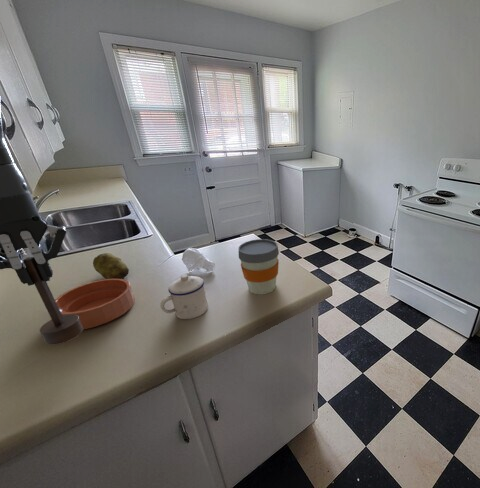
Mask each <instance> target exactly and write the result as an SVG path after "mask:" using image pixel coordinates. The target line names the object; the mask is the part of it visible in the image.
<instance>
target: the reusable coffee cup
mask: <svg viewBox="0 0 480 488" xmlns="http://www.w3.org/2000/svg"><path fill="white" fill-rule="evenodd" d="M279 254H280V251H279V247H278V243H277V242H276V241H275V240H272V239H267V238H265V239H264V238H259V239H258V238H257V239H252V240H251V239H250V240H248V241H245V242H243V243H241V244H240V245H239V246H238V259H239V260H240V269H241V272H242V275H243V278H244V279H245V280H246V283H247V287H248V290H249V292H250V293H251V294H253V295H265V294H269V293H271V292H273V291H274V290H275V289H276V288H277V276H278V275H279V264H280V263H279V261H280V260H279V258H278V256H279Z"/></svg>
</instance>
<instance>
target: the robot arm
mask: <svg viewBox="0 0 480 488" xmlns="http://www.w3.org/2000/svg"><path fill="white" fill-rule="evenodd" d="M1 98H2V97H0V250H2V251H4V253H5V256H6V258H5V257H3V256H1V255H0V270H4V269H12V270H14V272H15V273H16V275H17V277H18V279H19V281H20V282H21V283H22V284H23V285H25V284H27V286H28V287H30V286H35V284H34V282H33V280H32V278H31V276H30V274H29V272H28V270H27V268H26V266H25V264H24V262H23V260H24V258H23V257H22V253H21V249H28V251H29V253H30V254H31V256H32V257H34V258H35V260H36V262H37V267H38V269H39V271H40V273H41V275H42V277H43V280H44V281H45V282H50V281H51V278H53V275H54V274H53V273H54V272H53V269H52V266H51V265H50V262H49V261H50V260H52V259H55V258H57V257H58V254H59V252H60V249H61V247H62V245H63V242H64V240H65V237H66V234H67V227H66V226H64V225H60V226H57V225H51V224H48V223H49V222H47V221H46V220H45V219H43V217H41V215H40V212H39V210H38V207H37V205H36V203H35V200H34V198H33V196H32V194H31V192H30V188H29V187H28V185H27V182H26V180H25V178H24V176H23V174H22V172H21V170H20V168H18V166H17V163H16V162H15V160H14V156H13V155H12V153H11V150H10V148H9V146H8V144H7V141H6V137H5V134H4V128H3V127H4V126H3V120H2V105H1V104H2V102H1ZM46 232H49V237H50V238H52V242H51V244H50V247H49V249H48V250H47V251H44V249H43V247H42V243H41V241H42V240H43V237H44V236H45V234H46Z"/></svg>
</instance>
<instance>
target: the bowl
mask: <svg viewBox="0 0 480 488" xmlns="http://www.w3.org/2000/svg"><path fill="white" fill-rule="evenodd" d="M54 299H55V301H56V304H57V306H58V308H59V310H60V312H61V314H62V316H63V315H68V314H75V315H78V317H79V319H80V321H81V323H82V326H83V330H87V329H91V328H95V327H98V326H102V325H105V324H107V323H110V322H111V321H113V320H116V319H117V318H119V317H121V316H123V315H124V314H125V313H127V312H128V311H129V310H130V309H132V307H133V306H134V304H135V301H136V298H135V295H134V293H133V289H132V286H131V283H130V282H129V281H128V280H126V279H124V278H122V279H107V278H104V279H99V280H94V281H91V282H86V283H84V284H81V285H79V286H76V287H73V288H71V289H68V290H67V291H65V292H63V293H62V294H60V295H58V296H57V297H56V298H54Z"/></svg>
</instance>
